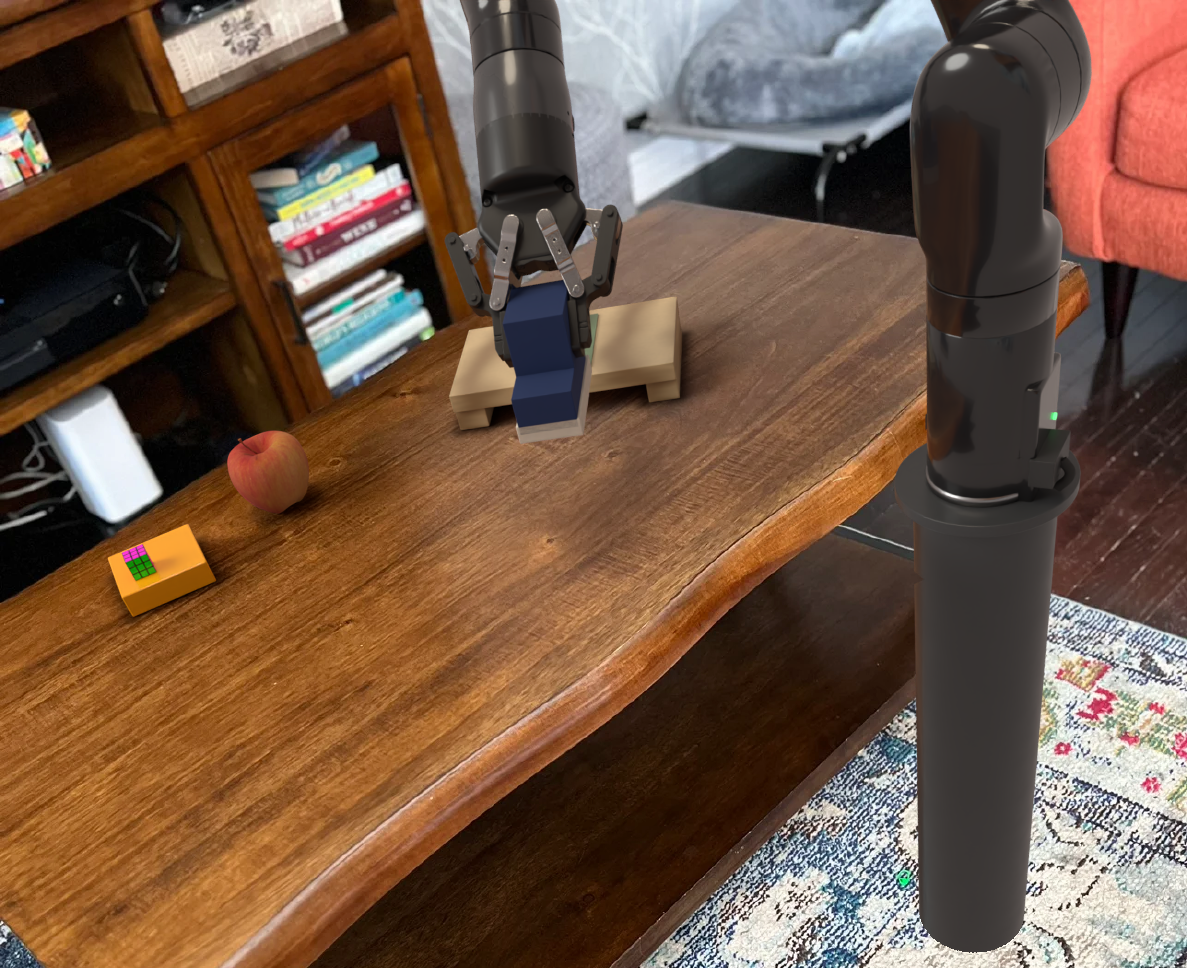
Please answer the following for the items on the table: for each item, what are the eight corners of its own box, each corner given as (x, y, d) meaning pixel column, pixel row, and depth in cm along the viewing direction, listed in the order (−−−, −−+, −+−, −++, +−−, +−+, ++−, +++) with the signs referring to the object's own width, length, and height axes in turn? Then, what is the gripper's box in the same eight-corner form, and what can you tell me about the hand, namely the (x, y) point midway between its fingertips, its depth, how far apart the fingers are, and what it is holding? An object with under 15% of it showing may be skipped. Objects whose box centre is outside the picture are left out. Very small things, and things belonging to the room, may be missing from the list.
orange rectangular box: (118, 576, 115) (96, 539, 112) (198, 542, 117) (178, 504, 114) (133, 617, 110) (110, 579, 107) (216, 581, 111) (197, 542, 108)
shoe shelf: (682, 333, 127) (676, 294, 124) (679, 401, 118) (673, 360, 115) (478, 365, 131) (468, 328, 128) (459, 433, 122) (448, 394, 119)
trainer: (532, 380, 101) (509, 285, 95) (592, 371, 100) (572, 275, 94) (520, 444, 94) (493, 346, 88) (583, 435, 93) (561, 335, 87)
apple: (336, 494, 118) (306, 419, 113) (278, 534, 115) (245, 460, 109) (291, 477, 122) (260, 404, 117) (234, 515, 119) (199, 442, 114)
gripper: (419, 128, 91) (440, 358, 91) (608, 91, 89) (629, 328, 89) (449, 175, 99) (469, 388, 99) (624, 142, 96) (644, 361, 96)
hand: (545, 358), depth 94 cm, fingers closed on trainer, 4 cm apart
